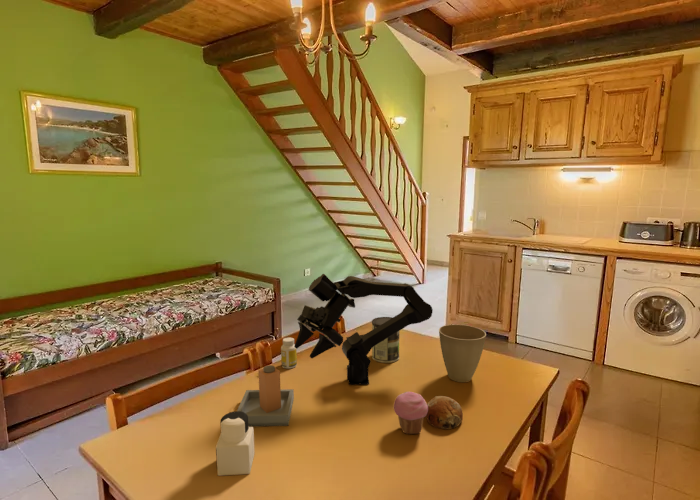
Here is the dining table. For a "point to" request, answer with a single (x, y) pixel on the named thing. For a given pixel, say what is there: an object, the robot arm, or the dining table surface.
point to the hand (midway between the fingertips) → (302, 352)
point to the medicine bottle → (235, 445)
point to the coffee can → (385, 344)
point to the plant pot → (461, 350)
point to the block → (269, 388)
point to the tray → (259, 416)
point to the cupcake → (410, 411)
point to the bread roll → (444, 412)
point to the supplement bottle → (288, 353)
